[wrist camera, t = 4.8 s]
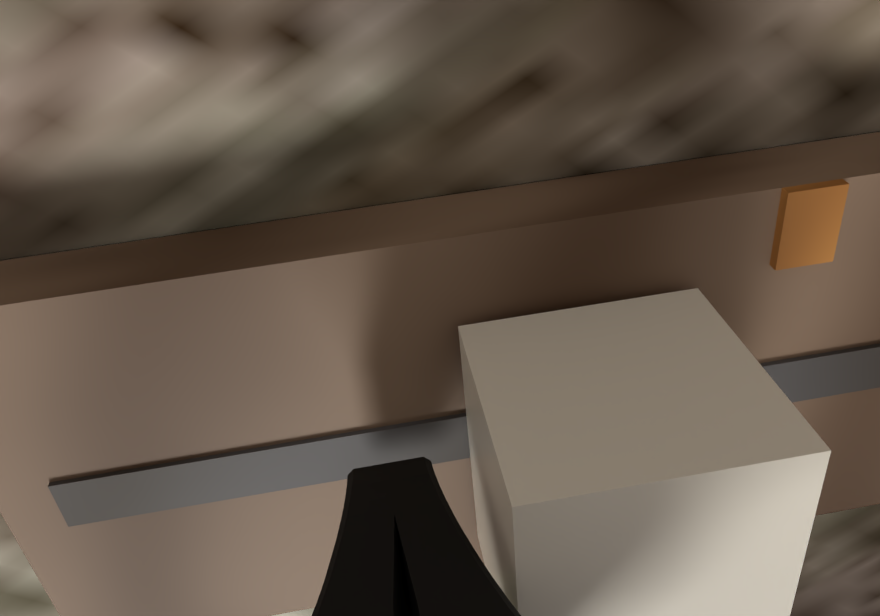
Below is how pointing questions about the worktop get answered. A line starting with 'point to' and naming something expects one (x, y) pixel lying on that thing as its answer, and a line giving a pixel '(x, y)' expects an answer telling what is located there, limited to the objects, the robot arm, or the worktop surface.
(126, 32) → the worktop surface
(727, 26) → the worktop surface
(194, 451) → the fader board
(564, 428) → the slider tab
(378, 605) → the robot arm
